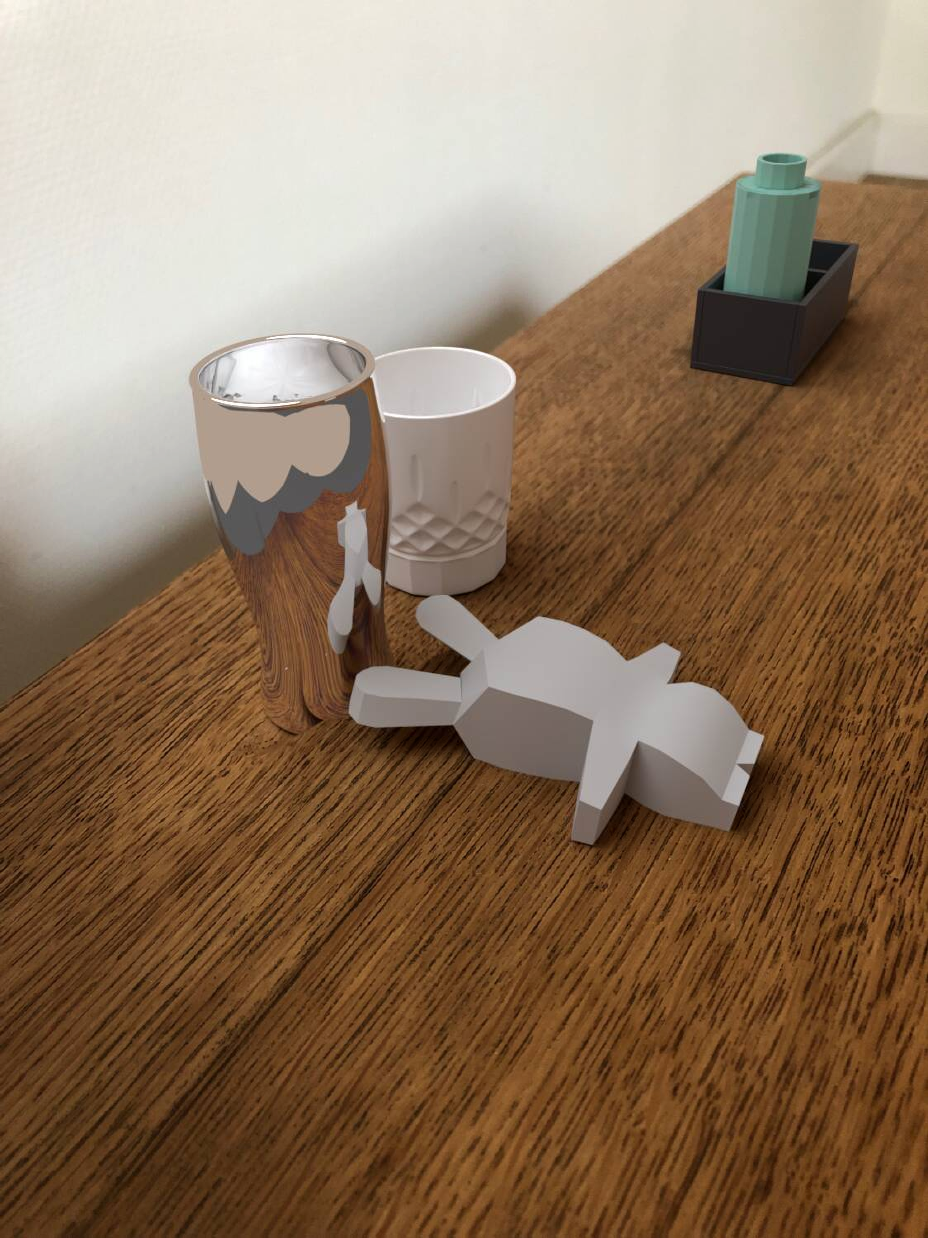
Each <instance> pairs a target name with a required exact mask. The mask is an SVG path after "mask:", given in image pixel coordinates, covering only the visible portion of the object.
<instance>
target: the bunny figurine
mask: <svg viewBox="0 0 928 1238" xmlns="http://www.w3.org/2000/svg"><path fill="white" fill-rule="evenodd" d="M414 617H415V619H416V621H417V623H418V624H419V626H420V628H421V629H422V630H423V631H424V632H425V633H426V634H428V635H430V636H432V637H433V638H434V639H436V640H437V641H438V642H440V643H441V644H443V645H445V646H446V647H447V648H449V649H451V650H452V651H454V652H455V653H457V654H458V655H460V656H461V657H462V658H464V659H465V660H467V661H468V662H469V664H468V665H466V666H465V668H463V670H462V671H461V672H460V674H459V677H458V676H451V675H447V674H441V673H440V674H439V673H432V672H427V671H420V670H414V669H409V668H402V667H398V668H396V667H390V666H379V667H370V668H368V669H365V670H363V671H361V672H360V673H359V674H357V675H356V679H355V683H354V687H353V691H352V695H351V698H350V704H349V714H350V717H351V718H352V719H353V720H354V721H355V722H356V724H358V725H362V726H366V727H370V728H400V727H402V728H403V727H405V728H407V727H431V726H453V727H454V728H455V731H456V732H457V733H458V735H459V737H460V739H461V740H462V742H463V743H464V745H465V746H466V748H467V749H468V751H469V753H470V755H471V756H472V758H473V759H475V760H479V761H482V762H485V763H486V764H489V765H492V766H494V767H498V768H501V769H504V770H508V771H511V772H512V771H513V772H517V773H520V774H525V775H529V776H535V777H540V778H544V779H545V778H546V779H550V780H551V779H552V780H557V781H568V782H576V783H579V786H578V791H577V796H576V803H575V809H574V815H573V821H572V827H571V835H570V840H571V841H574V842H580V843H583V844H587V845H591V846H593V845H594V844H595V843H596V841H597V840H598V838H599V837H600V836H601V834H602V833H603V831H604V829H605V828H606V826H607V825H608V823H609V821H610V820H611V818H612V816H613V814H614V813H615V811H616V810H617V808H618V806H619V804H620V803H621V801H622V798H623V796H625V795H627V796H628V797H630V799H633V800H634V801H636V802H638V803H639V804H640V805H641V806H644V807H645V808H647V809H650V810H651V811H653V812H656V813H658V814H660V815H662V816H664V817H668V818H671V819H672V818H673V819H677V820H679V821H683V822H684V821H685V822H690V823H693V824H698V825H701V826H708V827H711V828H714V829H718V830H719V829H720V830H721V831H726V832H730V830H731V827H732V825H733V822H734V819H735V817H736V814H737V812H738V810H739V807H740V805H741V801H742V798H743V796H744V794H745V790H746V787H747V785H748V782H749V780H750V776H751V774H752V771H753V768H754V766H755V764H756V761H757V758H758V755H759V752H760V749H761V747H762V744H763V742H764V739H765V735H763V734H761V733H758V732H755V731H753V730H751V729H749V728H748V726H747V724H746V722H744V720H743V718H742V717H741V715H740V713H738V711H737V710H736V708H735V706H734V705H733V704H731V702H730V701H728V700H727V699H726V698H725V697H724V696H723V695H722V694H720V693H719V692H718V691H717V690H716V689H714V688H712V687H709V686H706V685H703V684H699V683H696V682H693V681H687V682H676V683H674V679H675V675H676V672H677V669H678V665H679V661H680V657H681V654H682V652H681V651H679V650H677V649H676V648H674V647H672V646H670V645H668V644H667V643H666V642H662V643H660V644H658V645H656V646H655V647H652V648H651V649H649V650H647V651H645V652H643V653H641V654H640V655H638V656H636V657H634V658H632V659H629V660H626V659H625V658H624V657H623V656H622V654H620V653H619V652H618V651H617V650H616V649H615V648H614V647H613V646H612V644H610V643H609V642H608V641H606V640H605V639H603V638H601V637H600V636H597V635H596V634H594V633H593V632H590V631H588V630H587V629H584V628H583V627H580V626H577V625H574V624H571V623H568V622H566V621H564V620H559V619H555V618H549V617H544V616H539V615H538V616H536V617H534V618H533V619H531V620H530V621H528V622H526V623H525V624H523V625H521V626H519V627H518V628H516V629H514V630H513V631H511V632H509V633H508V634H506V635H504V636H502V637H501V638H499V639H498V637H497V636H495V634H494V633H492V632H491V631H490V630H489V629H488V628H487V627H486V626H485V625H484V624H483V623H482V622H481V621H480V620H478V619H477V618H476V616H475V615H473V614H472V613H471V612H470V611H469V610H468V609H467V608H466V607H465V606H464V605H463V604H462V603H461V602H460V601H458V600H457V599H454V598H453V597H452V596H451V595H450V596H448V595H432V596H427V598H425V599H423V600H422V601H420V602H419V603H418V606H417V607H416V610H415V616H414ZM624 794H625V795H624Z"/></svg>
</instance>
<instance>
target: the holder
mask: <svg viewBox="0 0 928 1238" xmlns="http://www.w3.org/2000/svg"><path fill="white" fill-rule="evenodd" d="M859 246H860V245H859V243H854V242H853V243H852V242H844V241H837V240H831V239H829V240H828V239H820V238H813V242H812V248H811V254H810V260H809V266H808V272H807V278H806V284H805V290H804V296H803V300H802V301H801V302H796V301H789V300H783V299H776V298H769V297H763V296H756V295H749V294H743V293H736V292H729V291H723V289H724V281H725V272H726V264H724V265H723V266H722V267H720V269H719V270H718V271H717V272H716V273H714V274H713V275H712V276H711V277H710V278H709V279H708V280H707V281H706V282H704V283H703V284H702V285H701V286H700V287H699V288H697V294H696V303H695V313H694V322H693V330H692V331H693V332H692V342H691V349H690V351H691V352H690V361H689V368H693V369H698V370H704V371H709V372H714V373H719V374H724V375H731V376H734V377H735V376H736V377H741V378H747V379H753V380H758V381H763V382H769V383H774V384H779V385H785V386H790V387H793V386H794V384H795V383H796V382H797V380H798V379H799V378H800V376H802V374H803V373H804V371H805V370H806V369H807V368H808V366H809V365H810V363H811V362H812V361H813V360H814V358H815V357H816V355H817V354H818V353H819V352H820V350H821V349H822V348H823V346H824V345H825V344H826V343H827V342H828V340H829V338H830V337H831V336H832V335H833V333H834V332H835V331H836V329H838V327H839V326H840V324H841V323H842V322H843V320H844V319H845V317H846V313H847V309H848V303H849V299H850V292H851V287H852V283H853V277H854V272H855V267H856V262H857V257H858V251H859Z"/></svg>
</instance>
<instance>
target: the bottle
mask: <svg viewBox="0 0 928 1238" xmlns="http://www.w3.org/2000/svg"><path fill="white" fill-rule="evenodd" d="M807 163H808V157H806V156H804V155H802V154H797V153H792V152H769V153H765V154H761V155H758V156H757V159H756V166H755V173H754V174H749V175H746V176H744V177H741V178H739V179H738V180H737V181H736V182H735V189H734V198H733V207H732V216H731V223H730V231H729V240H728V247H727V248H728V249H727V257H726V264H725V265H726V272H725V281H724V289H723V291H729V292H736V293H743V294H749V295H756V296H763V297H769V298H776V299H783V300H789V301H796V302H801V301H802V300H803V296H804V290H805V284H806V278H807V272H808V266H809V260H810V254H811V248H812V242H813V239H814V236H815V229H816V223H817V219H818V218H817V217H818V211H819V206H820V199H821V193H822V188H823V185H822V183H821V182H820V181H819V180H818V179H815V178H812V177H810V176H806V170H807Z"/></svg>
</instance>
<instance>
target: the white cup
mask: <svg viewBox="0 0 928 1238" xmlns="http://www.w3.org/2000/svg"><path fill="white" fill-rule="evenodd" d="M374 358H375V362H376V364H375V367H376V374H377V380H378V386H379V391H380V396H381V401H382V407H383V412H384V418H385V424H386V430H387V437H388V445H389V453H390V461H391V476H392V494H393V499H392V522H391V536H390V546H389V557H388V566H387V575H386V583H387V584H388V585H389V586H391V587H393V588H396V589H398V590H400V591H404V592H406V593H408V594H410V595H414V596H423V597H430V596H432V595H448V596H450V597H451V596H456V595H460V594H461V595H462V594H466V593H471V592H474V591H475V590H477V589H479V588H480V587H483V586H485V585H486V584H488V583H490V582H491V581H493V580H495V579H496V578H497V576H498V575H499V573H500V572H501V570H502V569H503V567H504V565H505V564H506V560H507V559H506V558H507V534H508V533H507V529H508V517H509V513H510V510H511V495H512V483H513V481H512V480H513V479H512V478H513V467H514V447H515V421H516V417H515V416H516V399H517V397H516V396H517V395H516V394H517V374H516V373H515V371H514V368H513V367H512V366H511V365H509V364H508V363H507V362H506V361H504V360H503V359H500V358H499V357H497V356H495V355H492V354H490V353H486V352H484V351H480V350H476V349H471V348H465V347H456V346H455V347H454V346H423V347H414V348H413V347H412V348H407V349H401V350H396V351H391V352H387V353H385V354H384V353H383V354H382V355H378V356H376V357H374Z"/></svg>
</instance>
